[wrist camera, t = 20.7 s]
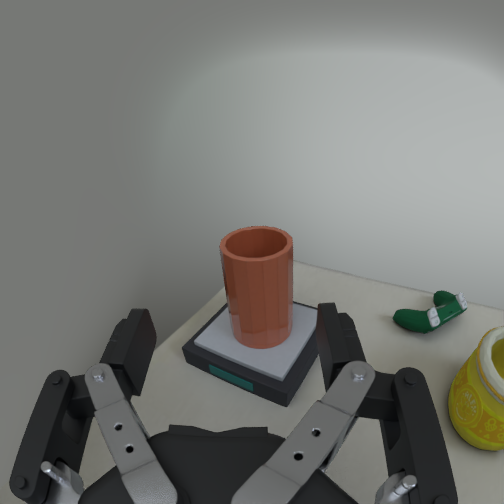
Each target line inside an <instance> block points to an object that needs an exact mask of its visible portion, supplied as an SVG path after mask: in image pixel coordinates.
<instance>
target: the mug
mask: <svg viewBox="0 0 504 504" xmlns="http://www.w3.org/2000/svg"><path fill="white" fill-rule="evenodd" d="M448 407H449V415H450V418H451V421H452V423H453V426H454V428H455V429H456V431H457V432H458V433H459V435H460V436H461V437H462V438H463V439H464V440H465V441H467V442H468V443H469V444H470V445H472V446H475V447H477V448H479V449H483V450H494V451H497V450H502V449H504V326H501V327H497V328H493V329H492V330H490V331H488V332H487V333H486V334H485V335H484V336H483V337H482V339H481V341H480V343H479V345H478V347H477V348H476V349H475V351H474V352H473V353H472V355H471V356H470V357H469V359H468V360H467V361H466V362H465V364H464V365H463V366H462V368H461V369H460V370H459V372H458V373H457V375H456V377H455V379H454V380H453V382H452V384H451V388H450V392H449V400H448Z"/></svg>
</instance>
